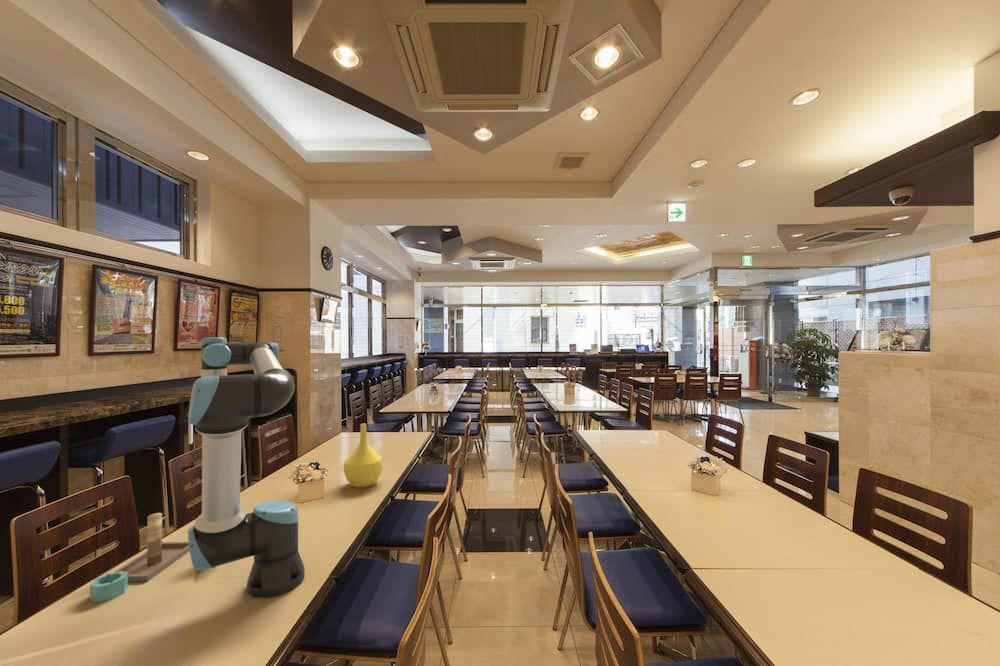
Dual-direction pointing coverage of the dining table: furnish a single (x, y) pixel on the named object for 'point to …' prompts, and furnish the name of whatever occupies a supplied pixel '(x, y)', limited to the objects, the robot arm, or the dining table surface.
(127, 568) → the tray
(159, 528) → the dowel
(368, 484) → the vase
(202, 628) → the dining table surface
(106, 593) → the ring
